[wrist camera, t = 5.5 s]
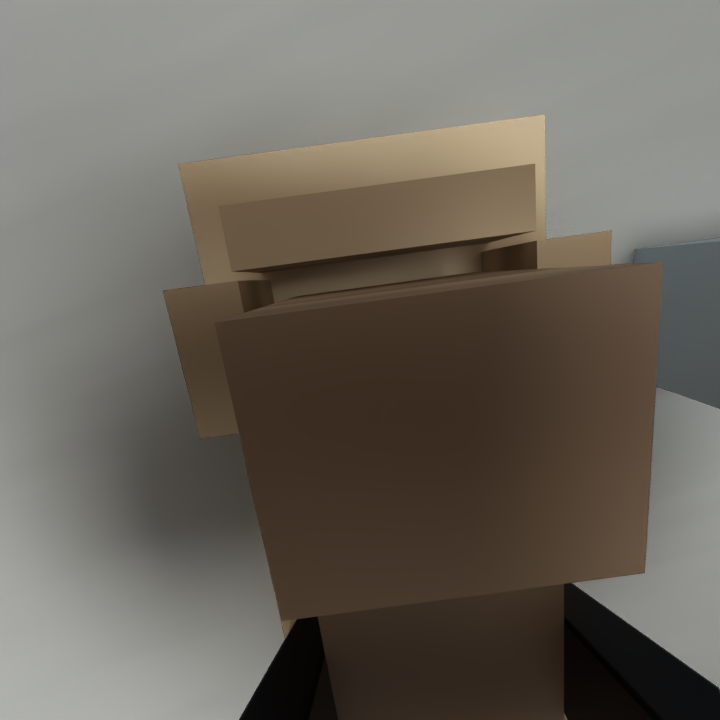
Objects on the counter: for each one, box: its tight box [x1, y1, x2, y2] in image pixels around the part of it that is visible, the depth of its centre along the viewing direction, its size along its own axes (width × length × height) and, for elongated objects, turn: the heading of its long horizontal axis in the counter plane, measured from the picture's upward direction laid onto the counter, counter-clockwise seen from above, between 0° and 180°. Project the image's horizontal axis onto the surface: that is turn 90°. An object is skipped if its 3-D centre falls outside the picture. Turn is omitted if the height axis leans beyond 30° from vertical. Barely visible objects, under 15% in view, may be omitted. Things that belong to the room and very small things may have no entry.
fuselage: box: [214, 262, 663, 720], centre depth 7 cm, size 13×4×5 cm, turn 7°
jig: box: [163, 115, 612, 720], centre depth 10 cm, size 20×9×4 cm, turn 7°
